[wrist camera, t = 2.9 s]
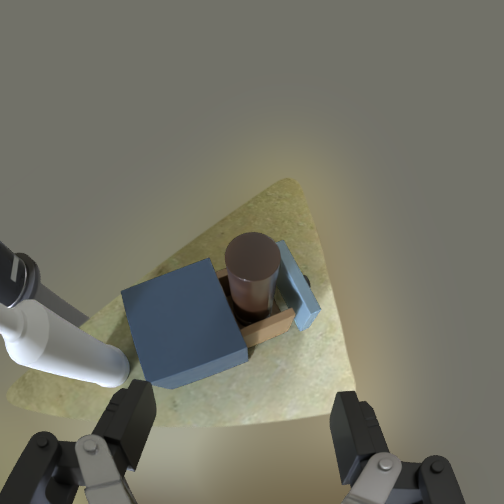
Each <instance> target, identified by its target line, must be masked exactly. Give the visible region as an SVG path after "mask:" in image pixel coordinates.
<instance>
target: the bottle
mask: <svg viewBox="0 0 504 504" xmlns="http://www.w3.org/2000/svg"><path fill="white" fill-rule="evenodd" d="M0 334H2V336H3V338H4V340H5V345H6V349H7V351H8V353H9V355H10V357H11V358H12V359H13V360H14V361H15V362H17V363H18V364H20V365H24V366H27V367H30V368H34V369H38V370H41V371H45V372H49V373H53V374H57V375H61V376H65V377H70V378H74V379H79V380H84V381H89V382H94V383H97V384H99V385H101V386H103V387H116V386H119V385H121V384H123V383H124V382H125V380H126V379H127V378H128V375H129V372H130V368H129V362H128V359H127V357H126V355H125V354H124V353H123V352H122V351H121V350H120V349H118V348H117V347H114V346H112V345H106V344H104V343H103V342H101V341H99V340H97V339H96V338H94V337H92V336H91V335H89V334H87V333H86V332H84V331H82V330H81V329H79V328H77V327H76V326H74V325H72V324H71V323H69V322H68V321H66V320H65V319H63V318H61V317H60V316H58V315H57V314H55V313H54V312H52V311H51V310H49V309H48V308H46V307H45V306H43V305H42V304H40V303H39V302H37V301H35V300H24V301H22V302H20V303H19V304H17V305H16V306H15V307H11V308H8V307H6V306H5V305H3V304H1V303H0Z"/></svg>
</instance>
